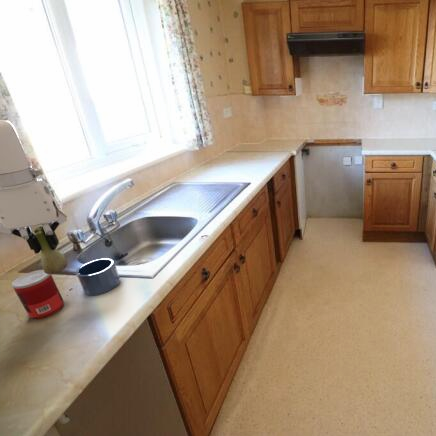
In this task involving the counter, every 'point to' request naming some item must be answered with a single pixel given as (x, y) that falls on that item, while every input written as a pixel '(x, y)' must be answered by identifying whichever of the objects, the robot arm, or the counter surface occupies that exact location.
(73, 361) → the counter surface
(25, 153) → the robot arm
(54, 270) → the fennel bulb
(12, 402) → the counter surface
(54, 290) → the canned food
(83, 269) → the crock
